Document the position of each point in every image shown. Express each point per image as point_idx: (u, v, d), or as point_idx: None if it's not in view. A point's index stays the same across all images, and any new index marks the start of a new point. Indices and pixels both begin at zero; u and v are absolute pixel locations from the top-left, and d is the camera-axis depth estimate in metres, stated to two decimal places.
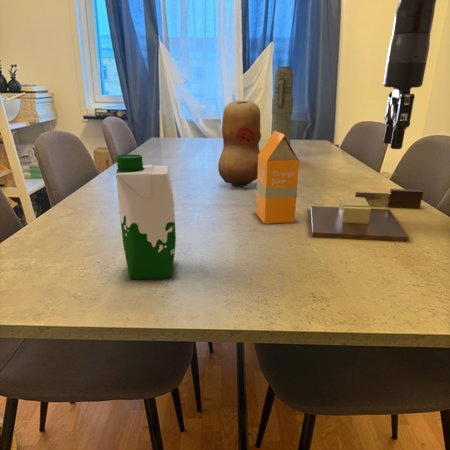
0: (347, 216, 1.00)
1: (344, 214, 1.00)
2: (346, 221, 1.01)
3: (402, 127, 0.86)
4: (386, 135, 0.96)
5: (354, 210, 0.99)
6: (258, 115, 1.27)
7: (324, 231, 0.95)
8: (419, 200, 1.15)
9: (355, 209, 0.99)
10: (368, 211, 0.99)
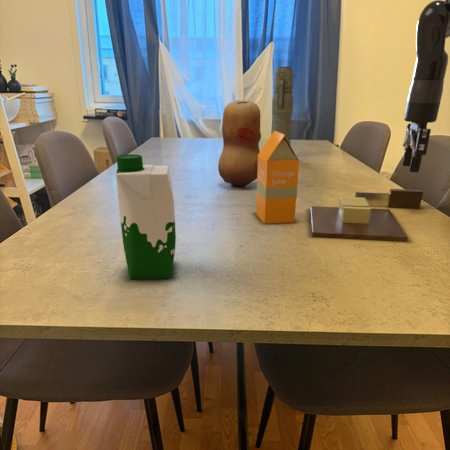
0: (347, 216, 1.00)
1: (344, 214, 1.00)
2: (346, 221, 1.01)
3: (420, 155, 1.05)
4: (405, 159, 1.15)
5: (354, 210, 0.99)
6: (258, 115, 1.27)
7: (324, 231, 0.95)
8: (419, 200, 1.15)
9: (355, 209, 0.99)
10: (368, 211, 0.99)
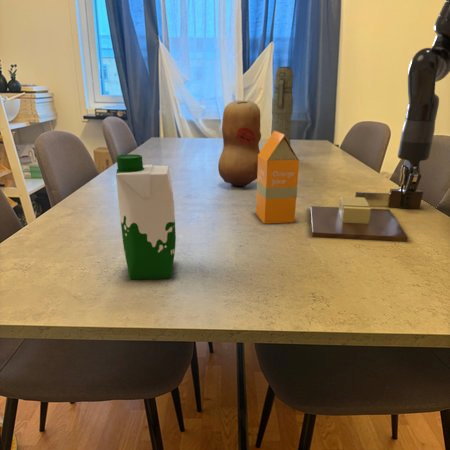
0: (347, 216, 1.00)
1: (344, 214, 1.00)
2: (346, 221, 1.01)
3: (409, 193, 1.12)
4: None
5: (354, 210, 0.99)
6: (258, 115, 1.27)
7: (324, 231, 0.95)
8: (419, 200, 1.15)
9: (355, 209, 0.99)
10: (368, 211, 0.99)
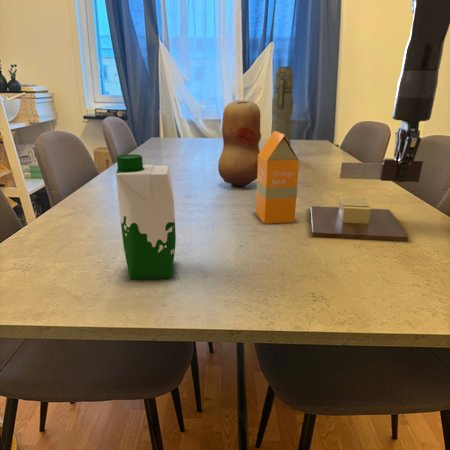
0: (347, 216, 1.00)
1: (344, 214, 1.00)
2: (346, 221, 1.01)
3: (406, 163, 0.92)
4: None
5: (354, 210, 0.99)
6: (258, 115, 1.27)
7: (324, 231, 0.95)
8: (418, 172, 0.94)
9: (355, 209, 0.99)
10: (368, 211, 0.99)
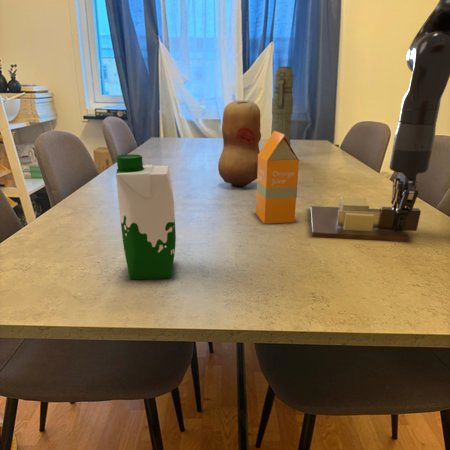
0: (349, 223, 0.95)
1: (346, 221, 0.95)
2: (348, 228, 0.96)
3: (404, 213, 0.91)
4: None
5: (356, 216, 0.94)
6: (258, 115, 1.27)
7: (324, 231, 0.95)
8: (416, 221, 0.93)
9: (358, 216, 0.94)
10: (371, 218, 0.94)
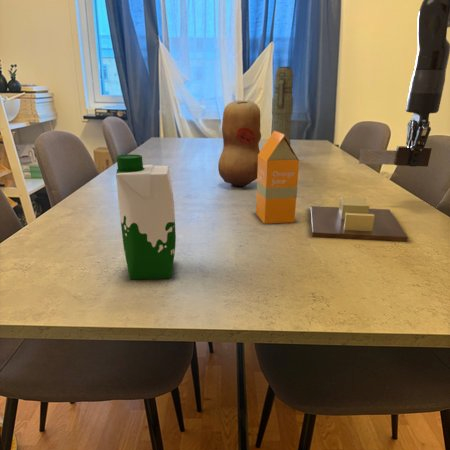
0: (349, 223, 0.95)
1: (347, 221, 0.95)
2: (348, 228, 0.96)
3: (418, 149, 1.07)
4: None
5: (356, 217, 0.94)
6: (258, 115, 1.27)
7: (324, 231, 0.95)
8: (427, 157, 1.09)
9: (358, 216, 0.94)
10: (371, 218, 0.94)
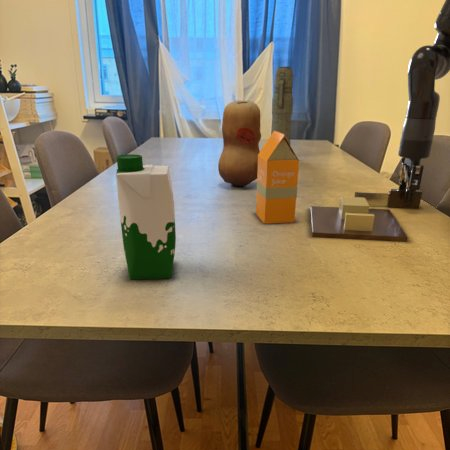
0: (349, 223, 0.95)
1: (347, 221, 0.95)
2: (348, 228, 0.96)
3: (413, 190, 1.09)
4: None
5: (356, 217, 0.94)
6: (258, 115, 1.27)
7: (324, 231, 0.95)
8: (418, 200, 1.15)
9: (358, 216, 0.94)
10: (371, 218, 0.94)
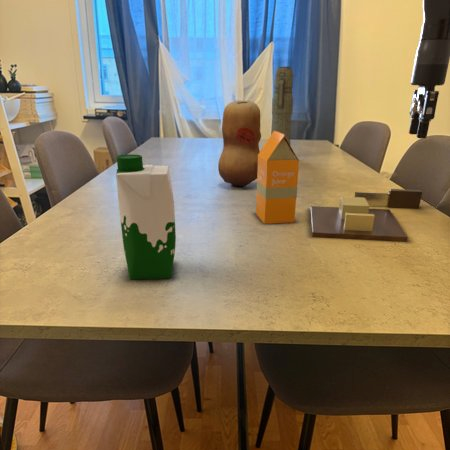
0: (349, 223, 0.95)
1: (347, 221, 0.95)
2: (348, 228, 0.96)
3: (427, 119, 1.01)
4: (411, 127, 1.11)
5: (356, 217, 0.94)
6: (258, 115, 1.27)
7: (324, 231, 0.95)
8: (418, 200, 1.15)
9: (358, 216, 0.94)
10: (371, 218, 0.94)
